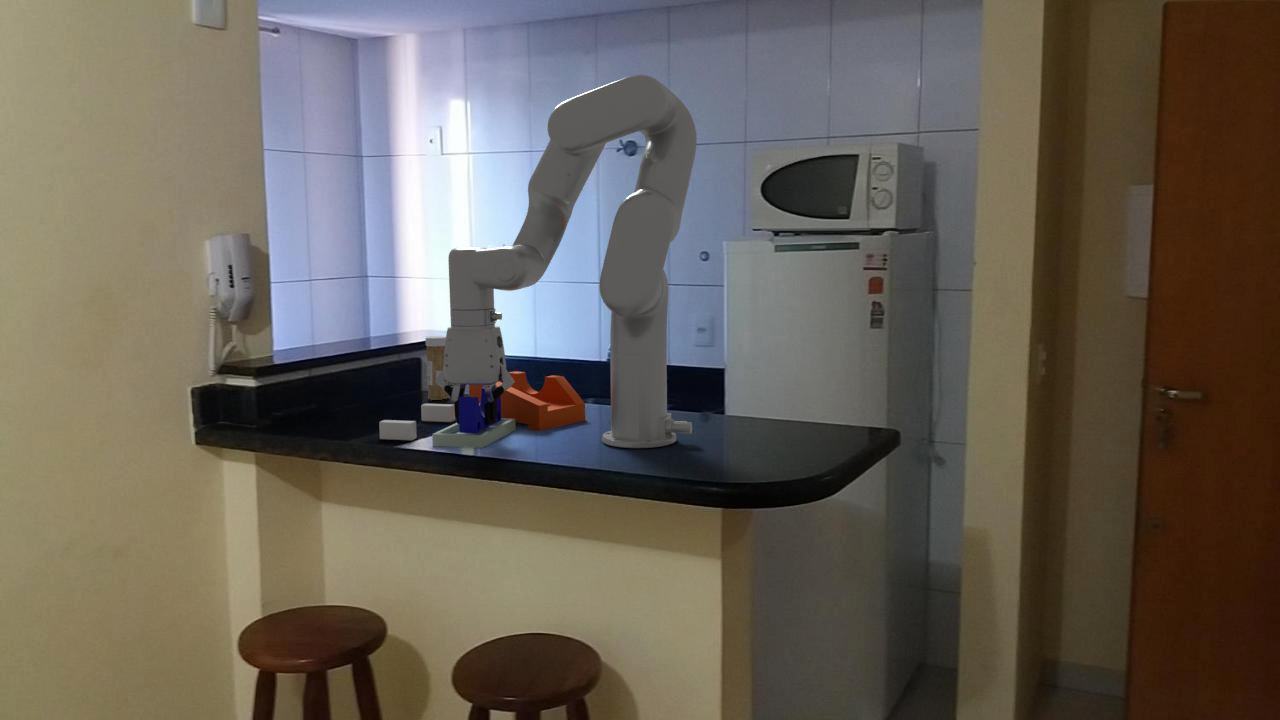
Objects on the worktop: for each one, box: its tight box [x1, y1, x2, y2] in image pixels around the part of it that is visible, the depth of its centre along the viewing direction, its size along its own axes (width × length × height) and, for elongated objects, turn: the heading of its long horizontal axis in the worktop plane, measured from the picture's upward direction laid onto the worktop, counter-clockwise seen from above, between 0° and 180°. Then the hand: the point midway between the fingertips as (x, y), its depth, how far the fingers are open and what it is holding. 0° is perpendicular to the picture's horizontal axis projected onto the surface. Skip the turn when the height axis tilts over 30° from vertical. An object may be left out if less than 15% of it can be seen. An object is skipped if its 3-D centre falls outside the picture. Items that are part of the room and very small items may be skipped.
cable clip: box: [458, 387, 501, 433], centre depth 186 cm, size 12×4×6 cm, turn 167°
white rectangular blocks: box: [378, 403, 456, 441], centre depth 194 cm, size 6×19×3 cm, turn 167°
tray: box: [431, 418, 516, 449], centre depth 186 cm, size 9×16×2 cm, turn 167°
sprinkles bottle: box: [425, 335, 450, 401], centre depth 225 cm, size 5×5×13 cm
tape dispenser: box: [468, 370, 586, 432], centre depth 201 cm, size 18×13×8 cm
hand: (476, 422), depth 186 cm, fingers closed on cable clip, 4 cm apart
